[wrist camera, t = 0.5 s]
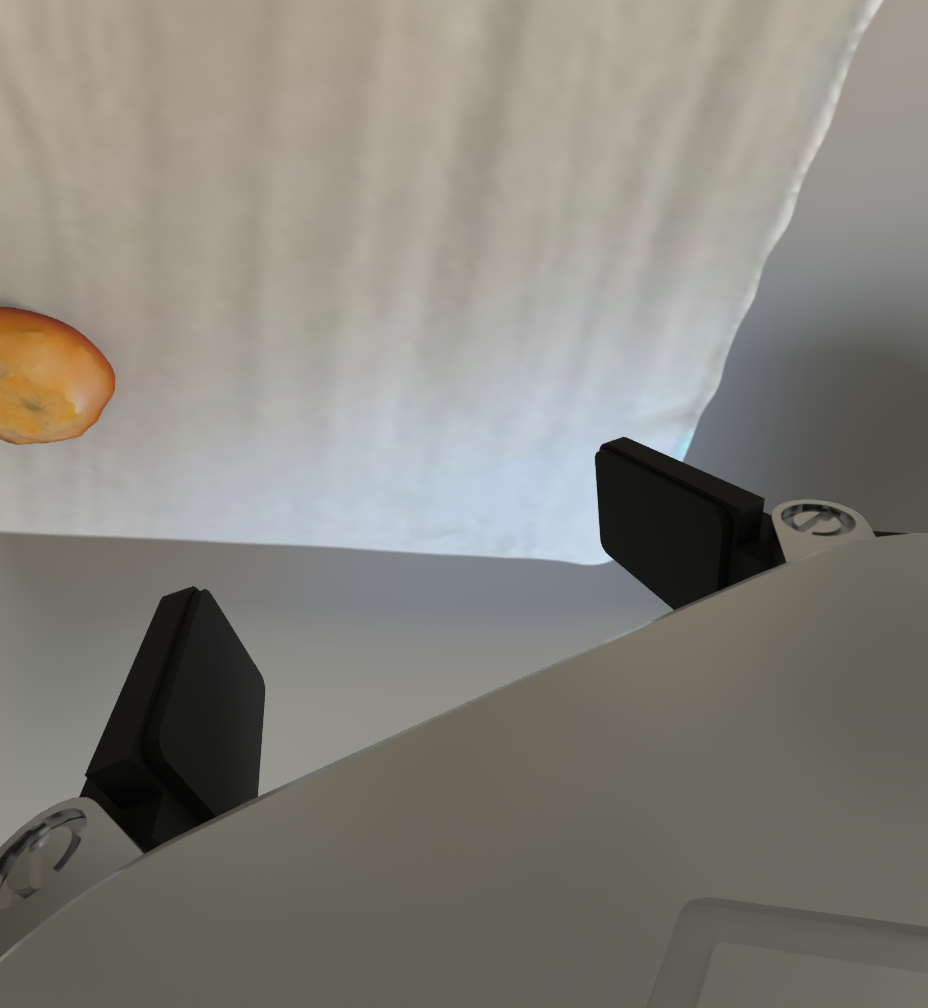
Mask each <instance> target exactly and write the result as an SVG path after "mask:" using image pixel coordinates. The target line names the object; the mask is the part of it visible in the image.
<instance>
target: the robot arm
mask: <svg viewBox="0 0 928 1008" xmlns="http://www.w3.org/2000/svg"><path fill="white" fill-rule="evenodd" d="M595 466H596V481H597V496H598V511H599V526H600V540H601V544H602V547H603V549H604V550H605V552H606V553H607V554H608V555H609V556H610V557H612V558H613V559H614V560H615V561H616V562H618V563H619V564H620V565H621V566H622V567H624V568H625V569H626V570H627V571H628V572H629V573H631V574H632V575H633V576H634V577H636V578H637V579H638V580H639V581H640V582H641V583H643V584H644V585H645V586H646V587H647V588H649V589H650V590H651V591H652V592H653V593H654V594H656V595H657V596H658V597H659V598H660V599H662V600H663V601H664V602H665V603H667V604H668V605H669V606H670V607H671V608H672V609H673V610H674V611H672V612H669V613H667V614H665V615H662V616H660V617H658V618H656V619H653V620H651V621H649V622H647V623H644V624H642V625H640V626H637V627H635V628H633V629H631V630H628V631H626V632H624V633H621V634H619V635H617V636H615V637H612V638H610V639H608V640H605V641H603V642H601V643H599V644H596V645H594V646H592V647H590V648H587V649H585V650H583V651H581V652H578V653H576V654H574V655H572V656H569V657H567V658H565V659H563V660H560V661H558V662H556V663H554V664H551V665H549V666H547V667H545V668H542V669H540V670H538V671H536V672H533V673H531V674H529V675H527V676H524V677H522V678H520V679H518V680H515V681H513V682H511V683H509V684H506V685H504V686H502V687H500V688H497V689H495V690H493V691H491V692H488V693H486V694H484V695H482V696H480V697H477V698H475V699H473V700H471V701H468V702H466V703H464V704H462V705H459V706H457V707H455V708H453V709H451V710H448V711H446V712H444V713H442V714H439V715H437V716H435V717H433V718H431V719H428V720H426V721H424V722H422V723H420V724H418V725H415V726H413V727H411V728H408V729H406V730H404V731H402V732H400V733H397V734H396V735H393V736H391V737H389V738H386V739H384V740H382V741H380V742H377V743H375V744H373V745H371V746H369V747H367V748H364V749H362V750H360V751H358V752H356V753H353V754H351V755H349V756H347V757H345V758H342V759H340V760H338V761H335V762H333V763H331V764H329V765H327V766H324V767H323V768H320V769H318V770H316V771H314V772H311V773H309V774H307V775H305V776H302V777H300V778H298V779H296V780H294V781H292V782H289V783H287V784H285V785H283V786H281V787H278V788H276V789H274V790H272V791H270V792H267V793H265V794H263V795H261V796H259V797H258V785H259V770H260V757H261V743H262V729H263V716H264V702H265V684H264V680H263V678H262V675H261V673H260V672H259V670H258V669H257V667H256V665H255V664H254V662H253V661H252V659H251V657H250V656H249V654H248V653H247V651H246V649H245V648H244V646H243V644H242V643H241V641H240V640H239V638H238V636H237V635H236V633H235V631H234V630H233V628H232V627H231V625H230V623H229V622H228V620H227V619H226V617H225V615H224V614H223V612H222V611H221V609H220V607H219V606H218V604H217V603H216V601H215V599H214V598H213V596H212V594H211V593H210V592H209V591H208V590H206V589H204V590H201V591H199V590H198V589H197V588H196V587H193V586H192V587H190V588H186V589H184V590H181V591H178V592H175V593H172V594H169V595H166V596H164V597H162V599H161V600H160V603H159V605H158V607H157V610H156V612H155V614H154V616H153V619H152V621H151V624H150V626H149V628H148V630H147V633H146V635H145V637H144V640H143V642H142V644H141V647H140V649H139V651H138V653H137V656H136V658H135V660H134V663H133V665H132V668H131V670H130V672H129V674H128V677H127V679H126V681H125V684H124V686H123V688H122V691H121V693H120V695H119V697H118V700H117V702H116V704H115V707H114V709H113V711H112V714H111V716H110V718H109V721H108V723H107V725H106V728H105V730H104V732H103V734H102V737H101V739H100V741H99V744H98V746H97V749H96V751H95V753H94V755H93V758H92V760H91V762H90V765H89V767H88V769H87V772H86V774H85V776H86V777H87V780H86V782H85V785H84V787H83V789H82V792H81V794H80V796H79V797H78V798H72V799H69V800H66V801H63V802H60V803H57V804H56V805H54V806H52V807H50V808H48V809H47V810H45V811H43V812H41V813H40V814H38V815H37V816H35V817H34V818H33V819H32V820H30V821H29V822H28V823H26V824H25V825H24V826H22V827H21V828H20V829H19V830H18V831H16V833H15V834H13V835H12V836H11V837H10V838H9V839H8V840H7V841H6V842H5V843H4V844H3V845H2V846H1V847H0V1008H928V534H908V533H893V532H892V533H891V532H877V531H872V530H871V528H870V527H869V525H868V523H867V522H866V520H865V519H864V518H863V517H862V516H861V515H860V514H859V513H857V512H855V511H854V510H852V509H850V508H847V507H845V506H842V505H839V504H836V503H831V502H826V501H820V500H794V501H790V502H786V503H783V504H781V505H779V506H777V507H776V508H775V509H774V510H773V511H772V514H771V515H769V514H767V513H765V512H763V507H764V500H765V499H764V498H762V497H760V496H758V495H755V494H753V493H751V492H749V491H746V490H744V489H741V488H739V487H737V486H735V485H733V484H730V483H728V482H726V481H724V480H721V479H719V478H717V477H714V476H712V475H710V474H708V473H705V472H703V471H701V470H699V469H696V468H694V467H692V466H690V465H687V464H685V463H683V462H681V461H678V460H676V459H674V458H672V457H669V456H667V455H665V454H663V453H660V452H658V451H656V450H654V449H651V448H649V447H647V446H645V445H642V444H640V443H638V442H635V441H633V440H631V439H629V438H626V437H622V438H619V439H616V440H613V441H610V442H607V443H604V444H602V445H601V446H600V450H599V452H597V453H596V455H595Z"/></svg>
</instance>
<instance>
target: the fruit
mask: <svg viewBox="0 0 928 1008" xmlns="http://www.w3.org/2000/svg"><path fill="white" fill-rule="evenodd" d="M114 390H115V375H114V372H113V369H112V367H111V365H110V363H109V362H108V361H107V359H106V358H105V357H104V355H103V354H102V353H101V352H100V350H99V349H98V348H97V347H96V346H95V345H94V344H93V343H92V342H91V341H90V340H88V339H87V338H86V337H85V336H84V335H83V334H81V333H80V332H78V331H77V330H76V329H74V328H73V327H71V326H69V325H67V324H65V323H63V322H61V321H59V320H57V319H54V318H51V317H48V316H45V315H42V314H38V313H34V312H31V311H26V310H21V309H16V308H9V307H0V439H1V440H4V441H6V442H9V443H13V444H16V445H20V444H33V443H49V442H57V441H62V440H66V439H71V438H76V437H79V436H81V435H83V433H84V432H85V431H86V430H87V429H88V428H89V427H91V426H92V425H93V424H94V423H96V422H97V420H98V419H99V416H100V414H101V412H102V410H103V408H104V407H105V406H106V404H107V403H108V401H109V400H110V399H111V397H112V395H113V393H114Z"/></svg>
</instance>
